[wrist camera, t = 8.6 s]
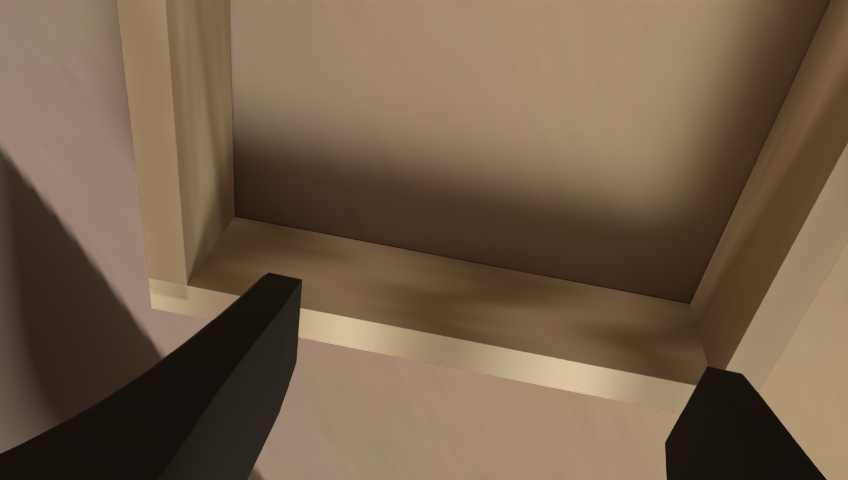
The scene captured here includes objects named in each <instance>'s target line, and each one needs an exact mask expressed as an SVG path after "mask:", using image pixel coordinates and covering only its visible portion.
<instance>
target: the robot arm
mask: <svg viewBox="0 0 848 480" xmlns="http://www.w3.org/2000/svg"><path fill="white" fill-rule="evenodd" d="M301 292H302V279H298V278H293V277H288V276H284V275H279V274H274V273H270V272H269V273H267V274H265V275H264V276H262V277H261V278H260V279H259V280H258V281H257V282H256V283H254V284H253V285H252V286H251V287H250V288H249V289H248V290H247V291H246V292H245V293H243V294H242V295H241V296H240V297H239V298H238V299H237V300H236V301H235V302H233V303H232V304H231V305H230V306H229V307H228V308H226V309H225V310H224V311H223V312H222V313H221V314H219V315H218V316H217V317H216V318H215V319H213V320H212V321H211V322H210V323H209V324H207V325H206V326H205V327H204V328H202V329H201V330H200V331H199V332H197V333H196V334H195V335H194V336H192V337H191V338H190V339H189V340H187V341H186V342H185V343H184V344H182V345H181V346H180V347H178V348H177V349H176V350H174V351H173V352H172V353H170V354H169V355H167V356H166V357H165V358H163V359H162V360H160V362H158V363H156V364H155V365H154V366H152V367H151V368H149V369H148V370H147V371H145V372H144V373H142V374H141V375H140V376H138V377H137V378H135V379H134V380H132V381H131V382H129V383H128V384H126V385H125V386H123V387H122V388H120V389H118V390H117V391H115V392H114V393H112V394H110V395H109V396H107V397H105V398H104V399H102V400H101V401H99V402H97V403H96V404H94V405H92V406H91V407H89V408H87V409H86V410H84V411H82V412H80V413H78V414H77V415H75V416H73V417H71V418H69V419H68V420H66V421H64V422H62V423H60V424H59V425H57V426H55V427H53V428H51V429H50V430H48V431H46V432H44V433H42V434H40V435H38V436H36V437H34V438H32V439H30V440H28V441H26V442H25V443H22V444H20V445H18V446H16V447H14V448H12V449H10V450H8V451H5V452H3V453H1V454H0V480H247V479H248V477H249V475H250V473H251V471H252V469H253V467H254V464H255V462H256V460H257V458H258V456H259V454H260V452H261V450H262V448H263V446H264V444H265V442H266V439H267V437H268V435H269V433H270V431H271V429H272V427H273V425H274V423H275V420H276V418H277V416H278V414H279V412H280V409H281V406H282V403H283V400H284V397H285V395H286V392H287V389H288V386H289V383H290V380H291V377H292V374H293V371H294V368H295V365H296V359H297V346H298V333H299V319H300V306H301ZM665 450H666V473H667V480H826V478H825V477H824V476H823V475H822V473H821V472H820V471H819V470H818V468H817V467H816V466H815V465H814V464H813V462H812V461H811V460H810V459H809V457H808V456H807V455H806V454H805V452H804V451H803V450H802V448H801V447H800V446H799V445H798V443H797V442H796V441H795V440H794V438H793V437H792V436H791V434H790V433H789V432H788V431H787V429H786V428H785V427H784V425H783V424H782V423H781V422H780V420H779V419H778V418H777V416H776V415H775V414H774V413H773V411H772V410H771V409H770V407H769V406H768V405H767V404H766V402H765V401H764V400H763V398H762V397H761V396H760V395H759V393H758V392H757V391H756V390H755V388H754V387H753V386H752V385H751V383H750V382H749V381H748V380H747V379H746V377H745V376H744V375H743V374H742V373H737V372H732V371H728V370H723V369H718V368H714V367H709V366H707V368H706V369H705V371H704V373H703V375H702V377H701V379H700V380H699V382H698V384H697V386H696V388H695V389H694V391H693V393H692V395H691V397H690V399H689V400H688V402H687V404H686V406H685V408H684V409H683V411H682V413H681V415H680V417H679V419H678V420H677V422H676V424H675V426H674V428H673V429H672V431H671V433H670V435H669V437H668V439H667V440H666V442H665Z"/></svg>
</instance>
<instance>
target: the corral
mask: <svg viewBox="0 0 848 480" xmlns="http://www.w3.org/2000/svg"><path fill="white" fill-rule="evenodd" d="M117 9H118V18H119V26H120V35H121V44H122V53H123V61H124V70H125V79H126V87H127V96H128V105H129V114H130V122H131V131H132V140H133V148H134V157H135V166H136V174H137V183H138V192H139V201H140V209H141V218H142V227H143V235H144V244H145V253H146V262H147V270H148V279H149V288H150V296H151V305H152V308H153V309H159V310H164V311H169V312H174V313H179V314H184V315H189V316H194V317H199V318H204V319H209V320H213V319H215V318H216V317H217V316H218V315H219V314H221V313H222V312H223V311H224V310H225V309H226V308H228V307H229V306H230V305H231V304H232V303H233V302H235V301H236V300H237V299H238V298H239V297H240V296H241V295H242V294H243V293H245V292H246V291H247V290H248V289H249V288H250V287H251V286H252V285H253V284H254V283H256V282H257V281H258V280H259V279H260V278H261V277H262V276H264V275H265V274H267V273H269V272H270V273H274V274H279V275H284V276H288V277H293V278H298V279H302V292H301V306H300V319H299V333H298V337H300V338H305V339H310V340H315V341H320V342H325V343H330V344H335V345H340V346H345V347H350V348H355V349H361V350H366V351H371V352H376V353H381V354H386V355H391V356H396V357H401V358H406V359H411V360H416V361H421V362H426V363H431V364H436V365H441V366H446V367H451V368H457V369H462V370H467V371H472V372H477V373H482V374H487V375H492V376H497V377H502V378H507V379H512V380H517V381H522V382H527V383H532V384H537V385H542V386H547V387H552V388H558V389H563V390H568V391H573V392H578V393H583V394H588V395H593V396H598V397H603V398H608V399H613V400H618V401H623V402H628V403H633V404H638V405H643V406H648V407H653V408H659V409H664V410H669V411H674V412H679V413H682V411H683V409H684V408H685V406H686V404H687V402H688V400H689V399H690V397H691V395H692V393H693V391H694V389H695V388H696V386H697V384H698V382H699V380H700V379H701V377H702V375H703V373H704V371H705V369H706V368H707V366H709V367H714V368H718V369H723V370H728V371H732V372H737V373H742V374H743V375H744V376H745V377H746V379H747V380H748V381H749V382H750V383H751V385H752V386H753V387H754V388H755V390H756V391H757V392H758V393H759V391H760V389H761V388H762V386H763V384H764V383H765V381H766V379H767V378H768V376H769V374H770V373H771V371H772V369H773V367H774V366H775V364H776V362H777V361H778V359H779V357H780V356H781V354H782V352H783V351H784V349H785V347H786V346H787V344H788V342H789V340H790V339H791V337H792V335H793V334H794V332H795V330H796V329H797V327H798V325H799V324H800V322H801V320H802V318H803V317H804V315H805V313H806V312H807V310H808V308H809V307H810V305H811V303H812V302H813V300H814V298H815V297H816V295H817V293H818V291H819V290H820V288H821V286H822V285H823V283H824V281H825V280H826V278H827V276H828V275H829V273H830V271H831V270H832V268H833V266H834V264H835V263H836V261H837V259H838V258H839V256H840V254H841V253H842V251H843V249H844V248H845V246H846V244H847V243H848V0H831V1H830V3H829V5H828V7H827V9H826V12H825V14H824V16H823V18H822V20H821V22H820V24H819V27H818V29H817V31H816V33H815V35H814V37H813V40H812V42H811V44H810V46H809V48H808V50H807V53H806V55H805V57H804V59H803V61H802V63H801V66H800V68H799V70H798V72H797V74H796V76H795V79H794V81H793V83H792V85H791V87H790V89H789V91H788V94H787V96H786V98H785V100H784V102H783V104H782V107H781V109H780V111H779V113H778V115H777V117H776V120H775V122H774V124H773V126H772V128H771V130H770V133H769V135H768V137H767V139H766V141H765V143H764V146H763V148H762V150H761V152H760V154H759V156H758V159H757V161H756V163H755V165H754V167H753V169H752V171H751V174H750V176H749V178H748V180H747V182H746V184H745V187H744V189H743V191H742V193H741V195H740V197H739V200H738V202H737V204H736V206H735V208H734V210H733V213H732V215H731V217H730V219H729V221H728V223H727V226H726V228H725V230H724V232H723V234H722V236H721V238H720V241H719V243H718V245H717V247H716V249H715V251H714V254H713V256H712V258H711V260H710V262H709V264H708V267H707V269H706V271H705V273H704V275H703V277H702V280H701V282H700V284H699V286H698V288H697V290H696V293H695V295H694V297H693V299H692V301H691V303H690V304H687V303H682V302H676V301H671V300H666V299H661V298H656V297H650V296H645V295H640V294H635V293H630V292H624V291H619V290H614V289H609V288H604V287H598V286H593V285H588V284H583V283H578V282H572V281H567V280H562V279H557V278H552V277H546V276H541V275H536V274H531V273H525V272H520V271H515V270H510V269H505V268H499V267H494V266H489V265H484V264H479V263H473V262H468V261H463V260H458V259H453V258H447V257H442V256H437V255H432V254H427V253H421V252H416V251H411V250H406V249H401V248H395V247H390V246H385V245H380V244H375V243H369V242H364V241H359V240H354V239H349V238H343V237H338V236H333V235H328V234H323V233H317V232H312V231H307V230H302V229H297V228H291V227H286V226H281V225H276V224H271V223H265V222H260V221H255V220H250V219H244V218H239V217H235V207H234V164H233V122H232V79H231V36H230V0H117Z"/></svg>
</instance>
